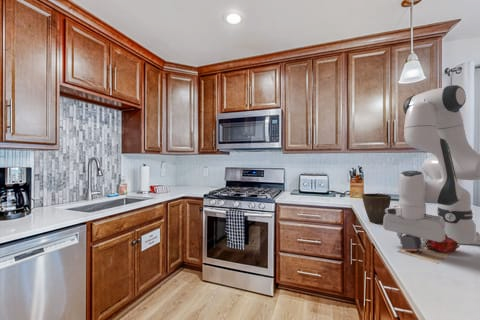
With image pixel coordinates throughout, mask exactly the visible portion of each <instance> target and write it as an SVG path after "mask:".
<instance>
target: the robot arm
mask: <svg viewBox="0 0 480 320" xmlns="http://www.w3.org/2000/svg"><path fill="white" fill-rule="evenodd" d="M466 98H467V94H466V91H465V90H464V88H463V87H462V86H459V85H457V84H454V85H447V86H445V87H438V88H434V89H430V90H427V91H424V92H421V93H418V94H413V95H412V96H409V97H408V98H406V100H405V101H404V103H403V105H402V108H403V109H402V110H403V112H404V114H405V118H404V124H403V125H404V127H403V128H404V129H403V135H404V136H403V137H404V141H405V142H406V144H407V145H408V146H410V147H411V148H413V149H416V150H420V151H422V152H427V153H430V154H432V155H433V156H430V157H427V158H426V159H424V161H423V163H422V171H423V172H424V173H423V172H422V171H419V170H405V171H402V172H401V173H400V174H399V178H398V187H397V189H398V190H397V193H398V196H399V199H398V202H397V203H398V205H395V206H389V208H387V209H385V213H387V214H385V216H384V219H383V224H382V227H383V229H384V230H385V231H389V232H393V233H396V235H397V237H398V239H399V241H400V245H402V242H401V238H400V237H402V236H404V235H410V236H415V237H419V238H421V241H422V244H421V243H420V244H419V249H422V250H424V249H426V247H425V244H426V243H427V242H428V240H432V241H437V242H442V241H444V240H445V234H446V235H447V237H448V238H452V239H453V240H454V241H456V242H457V243H458V245H460V244H461V245H476V246H477V245H478V246H480V233H479V232H477V224H476V223H475V221H474V220H473V218H474V217H473V209H472V208H471V207H472V202H471V199H472V197H471V193H470V192H469V191H468V190H467V189H466V188H463V187H462V186H461V185H460V184H459V183H458V180H462V181H463V180H464V181H479V180H480V153H478V152H477V151H476V150H475V149H473V148H472V146H471V145H470V143H469V141H468V139H467V134H466V130H465V125H464V120H463V119H464V118H463V116H462V113H461V111H460V109H461V108H463V106H464V105H465V104H466V100H467V99H466ZM424 174H425V175H426V176H427V177H428V178H425V177H424V176H425V175H424ZM426 203H433V204H437V205H438V207H437V215H433V214H427V207H426ZM423 241H424V242H423Z"/></svg>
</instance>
